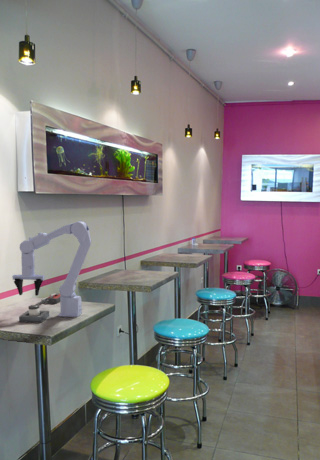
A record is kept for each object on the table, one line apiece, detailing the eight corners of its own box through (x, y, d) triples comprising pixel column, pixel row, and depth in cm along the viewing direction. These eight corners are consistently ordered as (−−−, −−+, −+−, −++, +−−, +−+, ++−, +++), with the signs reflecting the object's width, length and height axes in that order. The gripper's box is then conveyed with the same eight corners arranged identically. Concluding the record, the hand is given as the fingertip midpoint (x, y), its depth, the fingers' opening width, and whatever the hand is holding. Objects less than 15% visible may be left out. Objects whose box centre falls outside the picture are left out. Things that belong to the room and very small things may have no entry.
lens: (42, 319, 190) (41, 305, 189) (33, 321, 186) (32, 308, 186) (35, 317, 193) (35, 304, 192) (26, 319, 189) (26, 306, 189)
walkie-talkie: (51, 298, 230) (33, 307, 211) (51, 290, 230) (33, 299, 210) (66, 298, 229) (50, 308, 209) (66, 290, 228) (50, 299, 209)
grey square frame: (49, 316, 195) (49, 310, 194) (41, 322, 185) (41, 317, 184) (28, 315, 195) (28, 310, 195) (19, 322, 185) (19, 316, 185)
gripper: (46, 264, 198) (47, 293, 199) (16, 264, 199) (17, 292, 201) (41, 267, 191) (41, 296, 192) (10, 266, 192) (10, 296, 194)
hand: (28, 294), depth 196 cm, fingers open, 7 cm apart
